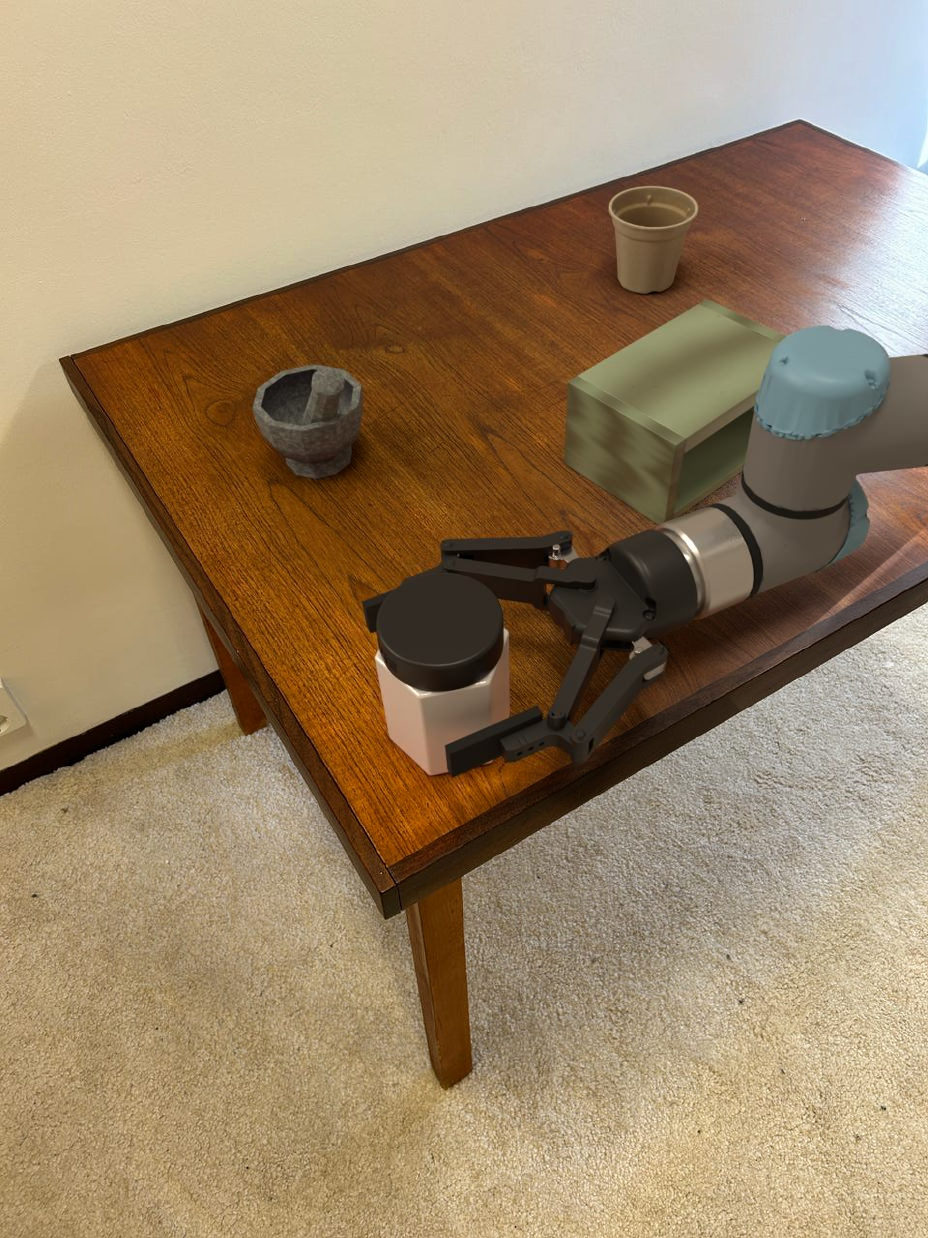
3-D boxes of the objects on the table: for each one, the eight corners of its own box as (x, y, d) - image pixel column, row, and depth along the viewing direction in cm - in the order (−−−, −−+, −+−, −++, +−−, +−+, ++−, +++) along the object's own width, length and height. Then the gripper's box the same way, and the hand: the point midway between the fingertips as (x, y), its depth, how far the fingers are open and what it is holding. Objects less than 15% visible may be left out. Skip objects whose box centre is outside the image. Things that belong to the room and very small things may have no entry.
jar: (417, 667, 74) (402, 556, 65) (520, 690, 72) (520, 579, 63) (375, 763, 68) (352, 656, 59) (485, 791, 66) (479, 685, 57)
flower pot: (685, 306, 105) (696, 229, 99) (599, 300, 107) (604, 224, 100) (689, 262, 111) (700, 187, 105) (607, 257, 113) (613, 183, 106)
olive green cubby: (794, 433, 90) (816, 350, 83) (663, 528, 83) (676, 445, 76) (693, 380, 96) (707, 298, 90) (563, 463, 89) (567, 381, 82)
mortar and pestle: (251, 450, 92) (222, 340, 83) (336, 412, 95) (317, 303, 86) (308, 513, 86) (283, 402, 77) (397, 471, 89) (383, 359, 80)
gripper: (770, 731, 65) (491, 864, 60) (581, 511, 80) (344, 601, 75) (794, 662, 60) (488, 801, 54) (585, 439, 75) (330, 530, 69)
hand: (404, 685), depth 64 cm, fingers open, 13 cm apart
